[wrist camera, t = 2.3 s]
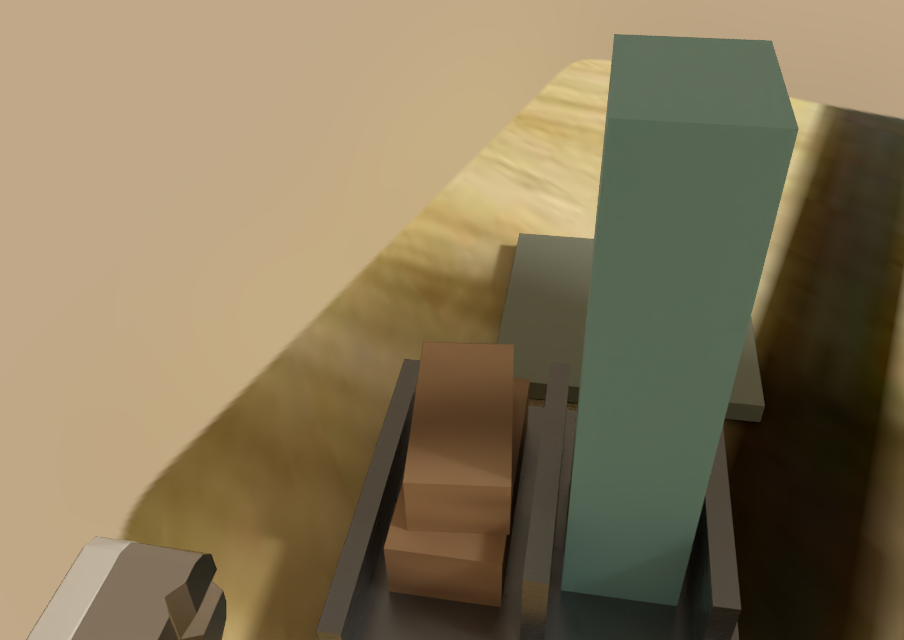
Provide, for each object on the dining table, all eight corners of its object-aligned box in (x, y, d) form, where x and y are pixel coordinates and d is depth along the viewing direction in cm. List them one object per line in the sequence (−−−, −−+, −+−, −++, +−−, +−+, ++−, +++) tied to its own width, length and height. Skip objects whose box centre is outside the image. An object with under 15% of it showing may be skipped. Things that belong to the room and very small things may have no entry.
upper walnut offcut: (425, 389, 35) (423, 342, 33) (512, 391, 34) (513, 344, 33) (407, 530, 29) (402, 482, 28) (509, 535, 29) (511, 486, 27)
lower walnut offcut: (436, 411, 37) (434, 369, 36) (527, 421, 37) (530, 379, 35) (388, 591, 30) (383, 548, 29) (500, 607, 30) (502, 564, 28)
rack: (408, 408, 39) (401, 323, 36) (715, 442, 37) (737, 354, 34) (327, 679, 29) (308, 594, 26) (741, 745, 27) (776, 662, 24)
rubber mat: (518, 248, 48) (519, 233, 48) (737, 265, 47) (740, 250, 46) (489, 394, 39) (489, 378, 39) (760, 422, 38) (765, 406, 37)
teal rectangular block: (570, 481, 34) (614, 34, 23) (673, 493, 33) (771, 40, 22) (560, 590, 30) (608, 118, 19) (676, 606, 30) (798, 128, 18)
